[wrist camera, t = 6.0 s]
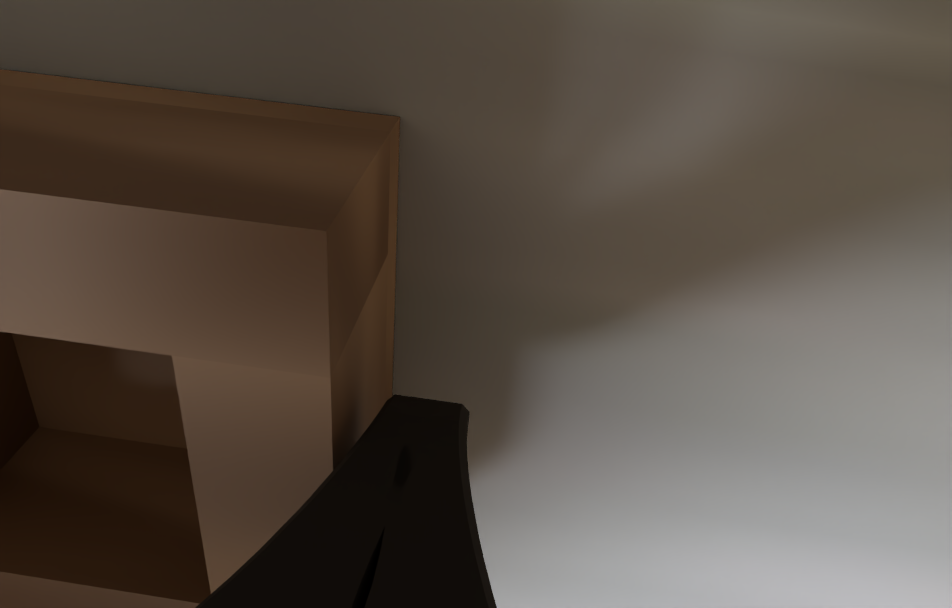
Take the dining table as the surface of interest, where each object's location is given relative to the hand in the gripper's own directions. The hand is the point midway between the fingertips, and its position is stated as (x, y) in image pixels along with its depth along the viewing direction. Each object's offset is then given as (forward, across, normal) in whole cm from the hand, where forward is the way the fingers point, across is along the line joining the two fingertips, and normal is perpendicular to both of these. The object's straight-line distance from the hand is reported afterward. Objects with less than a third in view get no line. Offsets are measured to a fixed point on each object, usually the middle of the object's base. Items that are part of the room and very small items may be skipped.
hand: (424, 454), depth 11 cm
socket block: (+2, +5, 0) cm, 5 cm away
